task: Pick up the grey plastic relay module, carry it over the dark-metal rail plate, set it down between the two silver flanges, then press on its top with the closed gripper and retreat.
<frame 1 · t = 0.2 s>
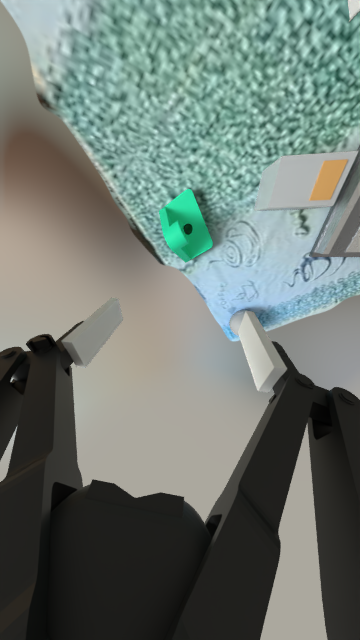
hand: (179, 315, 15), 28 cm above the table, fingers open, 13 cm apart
module: (283, 191, 28), on the table
camera mount: (188, 228, 34), on the table
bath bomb: (240, 315, 46), on the table
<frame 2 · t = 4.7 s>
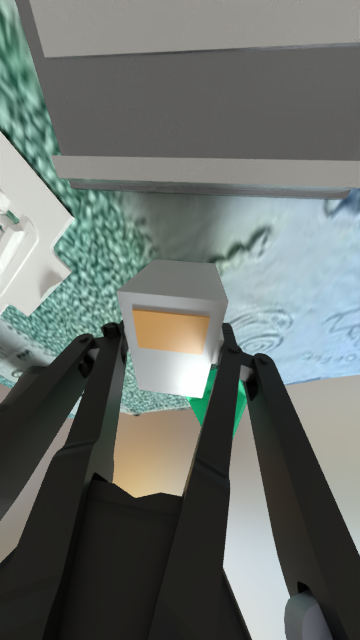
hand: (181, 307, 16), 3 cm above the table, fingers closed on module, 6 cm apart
module: (181, 305, 17), point 3 cm above the table, touching gripper
rail: (212, 19, 9), on the table
camera mount: (211, 379, 30), on the table
when the fingers open (2 cm above the table, at t = 9.5 s): module stays where it is, resting on rail.
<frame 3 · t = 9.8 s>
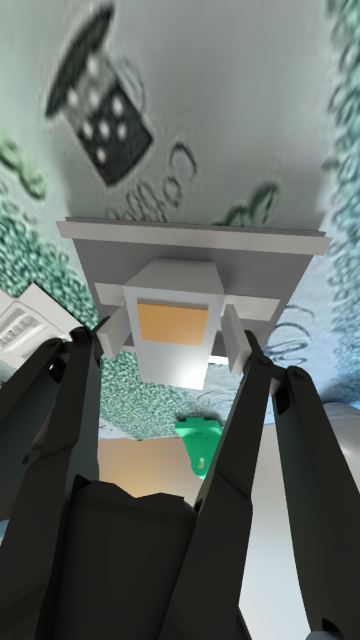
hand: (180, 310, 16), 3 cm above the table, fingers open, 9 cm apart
module: (182, 302, 18), point 1 cm above the table, touching rail
rail: (183, 298, 18), on the table
camera mount: (199, 421, 40), on the table
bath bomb: (328, 403, 28), on the table
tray: (40, 341, 29), on the table
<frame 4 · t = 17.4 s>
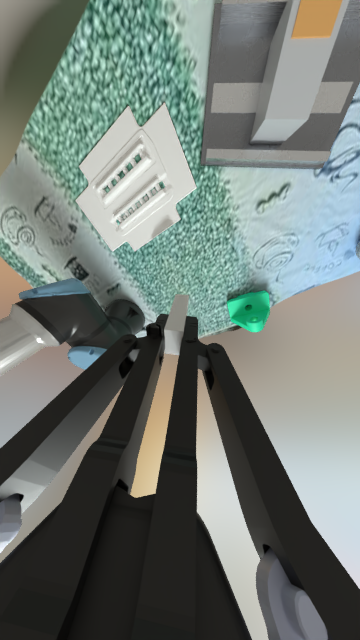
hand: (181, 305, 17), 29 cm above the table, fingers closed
module: (277, 98, 24), point 1 cm above the table, touching rail
rail: (274, 102, 25), on the table
camera mount: (246, 303, 48), on the table
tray: (134, 194, 35), on the table
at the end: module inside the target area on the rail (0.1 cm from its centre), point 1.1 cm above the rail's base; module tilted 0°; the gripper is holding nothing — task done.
